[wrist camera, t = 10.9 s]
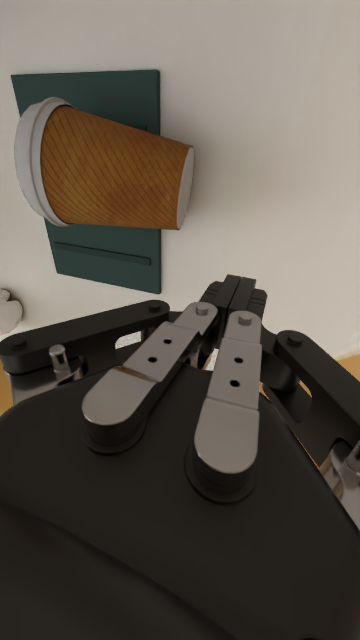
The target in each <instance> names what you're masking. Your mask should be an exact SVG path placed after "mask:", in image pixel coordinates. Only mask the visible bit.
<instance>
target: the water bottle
mask: <svg viewBox="0 0 360 640" xmlns="http://www.w3.org/2000/svg"><path fill="white" fill-rule="evenodd" d="M9 297H10V293H9V292H8V291H5V290H1V289H0V335H3V334H6V333H10V332H11V331H12V330H14V329H15V328H16V327H17V326H18V325H19V324H20V322H21V319H22V316H21V314H22V312H23V310H22V306H21V304H20V303H19V302H18V301H8V299H9ZM7 301H8V302H7Z"/></svg>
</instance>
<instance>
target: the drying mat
mask: <svg viewBox="0 0 360 640" xmlns="http://www.w3.org/2000/svg"><path fill="white" fill-rule="evenodd" d="M11 79H12V83H13V88H14V92H15V96H16V100H17V105H18V109H19V113H20V118H21V117H22V114H23V113H24V112H25V111H26V110H27V109H28V108H29V106H30V105H33V104H37V103H41V102H43V101H44V100H45V99H47V98H50V97H56V98H60V99H63V100H65V101H66V102H68V103H69V104H70V105H72V106H73V107H75V108H76V109H78V110H80V111H84V112H87V113H89V114H93V115H96V116H99V117H102V118H105V119H109V120H112V121H115V122H118V123H121V124H124V125H127V126H130V127H134V128H137V129H140V130H143V131H146V132H149V133H152V134H155V135H158V136H160V88H159V71H158V70H132V71H105V72H79V73H52V74H25V75H11ZM44 220H45V224H46V229H47V233H48V237H49V241H50V246H51V250H52V254H53V258H54V263H55V267H56V271H57V273H59V274H64V275H68V276H73V277H78V278H83V279H87V280H92V281H97V282H102V283H106V284H111V285H116V286H121V287H125V288H130V289H135V290H140V291H144V292H149V293H154V294H160V293H161V229H154V228H138V227H122V226H108V225H92V224H74V225H70V226H66V227H62V226H56V225H54V224H52V223H51V222H50V221H48V220H47V218H44Z"/></svg>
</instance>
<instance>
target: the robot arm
mask: <svg viewBox="0 0 360 640" xmlns="http://www.w3.org/2000/svg"><path fill="white" fill-rule="evenodd" d="M255 284H256V279H251V278H246V277H242V279H241V277H240V276H234V275H229V274H228V275H227V276H226V278H225V280H224V282H218V281H216V282H214V283H212V284H210V285H209V287H208V288H207V290H206V291H205V293H204V294H203V296H202V297H201V299H200V300H199V302H194V303H191V304H190V305H188V307H187V308H186V309H185V310H184V311H183V312H176V311H170V306H169V305H168V304H167V303H166V302H164V301H161V300H148V301H144V302H140V303H136V304H132V305H128V306H124V307H121V308H117V309H113V310H109V311H105V312H101V313H97V314H93V315H89V316H85V317H81V318H77V319H73V320H69V321H65V322H61V323H57V324H53V325H49V326H45V327H41V328H37V329H33V330H29V331H25V332H21V333H17V334H14V335H11V336H9V337H7V338H5V339H4V340H2V341H1V342H0V359H1V361H2V364H3V369H4V372H5V374H6V376H7V378H8V381H9V383H10V385H11V389H12V396H13V404H14V406H12V407H11V408H10V409H8V410H7V411H6V412H4V413H3V414H2V415H1V417H0V640H360V382H359V381H358V380H357V379H356V378H355V377H354V376H353V375H351V374H350V373H349V372H348V371H347V370H346V369H344V368H343V367H342V366H341V365H340V364H339V363H338V362H337V361H335V360H334V359H333V358H332V357H331V356H330V355H329V354H327V353H326V352H325V351H324V350H323V349H322V348H321V347H319V346H318V345H317V344H316V343H315V342H314V341H313V340H311V339H310V338H309V337H308V336H306V335H305V334H303V333H300V332H297V331H292V330H284V331H281V332H279V333H278V334H277V335H276V334H273V333H271V332H270V331H268V330H267V329H265V328H264V326H263V325H262V317H263V313H264V308H265V304H266V299H267V294H266V292H265V291H264V290H260V289H255ZM139 331H141V341H140V342H137V343H134V344H131V345H128V346H125V347H121V348H118V349H115V343H116V341H117V340H118V339H119V338H120V337H122V336H125V335H129V334H132V333H135V332H139ZM214 348H216V349H219V351H218V355H217V358H216V362H215V366H214V370H213V371H209V370H205V369H206V367H207V366H208V364H209V362H210V360H211V356H212V352H213V351H214ZM300 380H301V381H302V382H303V383H304V384H305V385H306V386H307V388H308V389H309V390H310V392H311V395H312V398H311V396H310V395H309V394H308V393H307V392H306V391H305V390H304V389H303V388H302V386H301V385H300V384H299V382H300ZM260 382H262V383H263V384H262V388H263V391H264V392H265V394H266V395H267V397H268V398H269V399H270V400H268V399H267V398H266V397H265V396H264V395H263V394H262V393H260V392H259V385H260ZM290 428H291V429H290ZM293 432H294V433H293ZM295 435H296V436H295ZM297 438H298V439H299V440H298V439H297ZM299 441H300V442H301V443H302V444H303V446H304V448H305V449H306V450H307V452H308V453H309V454H310V456H311V457H312V458H313V460H314V461H315V463H316V464H317V465H318V467H319V470H318V468H317V467H316V465H315V464H314V462H313V461H312V459H311V458H310V456H309V455H308V454H307V452H306V451H305V449H304V448H303V446H302V445H301V443H300V442H299Z"/></svg>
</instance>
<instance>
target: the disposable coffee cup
mask: <svg viewBox="0 0 360 640" xmlns="http://www.w3.org/2000/svg"><path fill="white" fill-rule="evenodd" d="M14 149H15V164H16V172H17V176H18V180H19V183H20V187H21V189H22V192H23V194H24V196H25V198H26V199H27V201H28V203H29V204H30V206H31V207H32V209H33V210H34V211H35V212H37V213H38V214H39V215H41V216H42V217H44V218H47V220H48V221H50V222H51V223H52V224H54V225H56V226H62V227H66V226H70V225H74V224H92V225H108V226H122V227H138V228H154V229H170V230H180V229H181V227H182V225H183V222H184V219H185V217H186V212H187V207H188V203H189V198H190V193H191V186H192V179H193V167H194V151H193V147H192V146H190V145H186V144H183V143H180V142H177V141H174V140H171V139H168V138H164V137H162V136H158V135H155V134H152V133H149V132H146V131H143V130H140V129H137V128H134V127H130V126H127V125H124V124H121V123H118V122H115V121H112V120H109V119H105V118H102V117H99V116H96V115H93V114H89V113H87V112H84V111H80V110H78V109H76V108H75V107H73V106H72V105H70V104H69V103H68V102H66V101H65V100H63V99H60V98H56V97H50V98H47V99H45V100H44V101H43V102H41V103H37V104H33V105H30V106H29V108H28V109H27V110H26V111H25V112H24V113H23V114H22V117H21V119H20V121H19V124H18V127H17V132H16V136H15V146H14Z"/></svg>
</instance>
